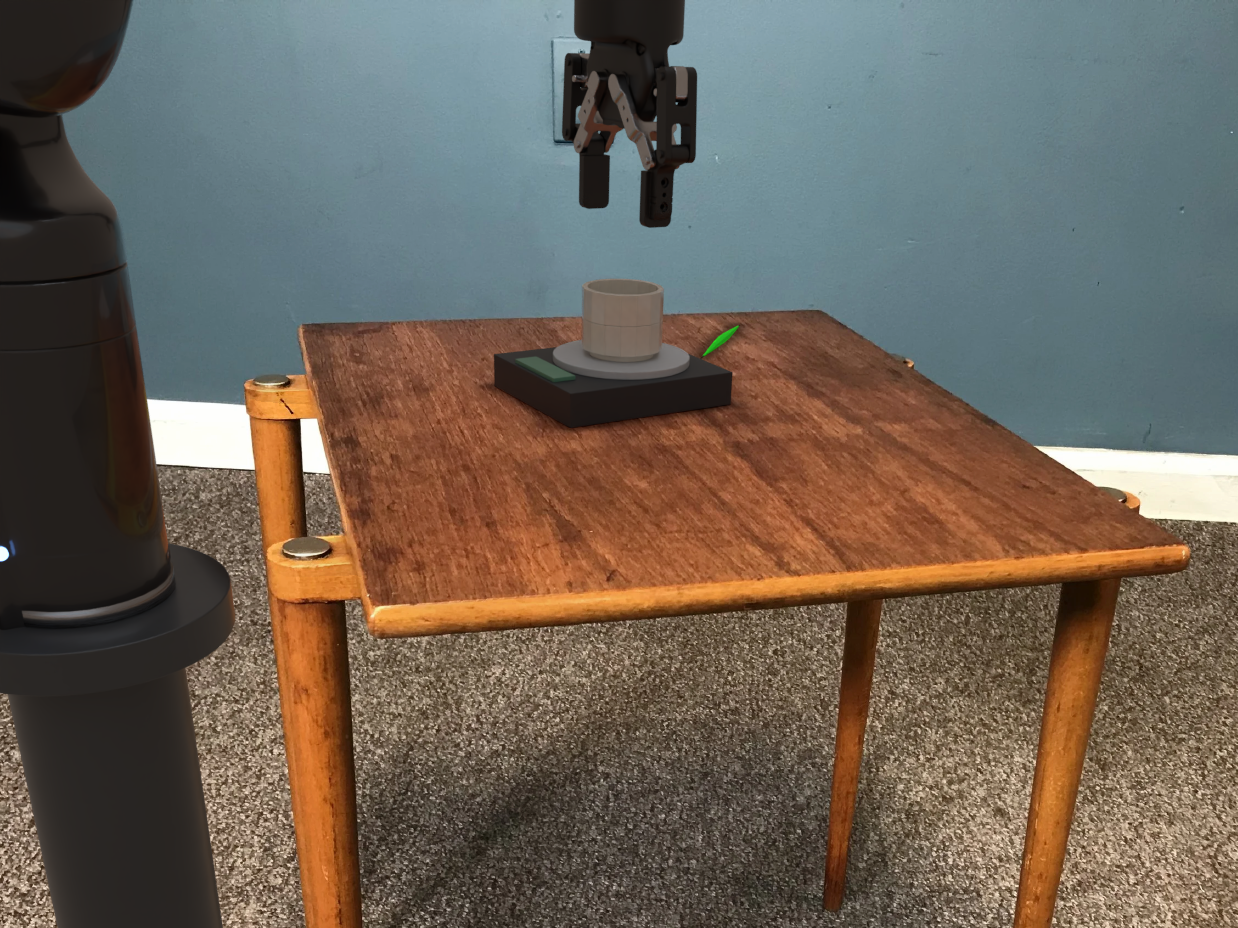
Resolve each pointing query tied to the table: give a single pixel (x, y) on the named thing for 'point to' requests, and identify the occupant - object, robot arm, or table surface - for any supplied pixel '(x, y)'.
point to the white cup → (622, 319)
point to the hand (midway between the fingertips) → (623, 217)
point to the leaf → (721, 340)
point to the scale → (610, 383)
